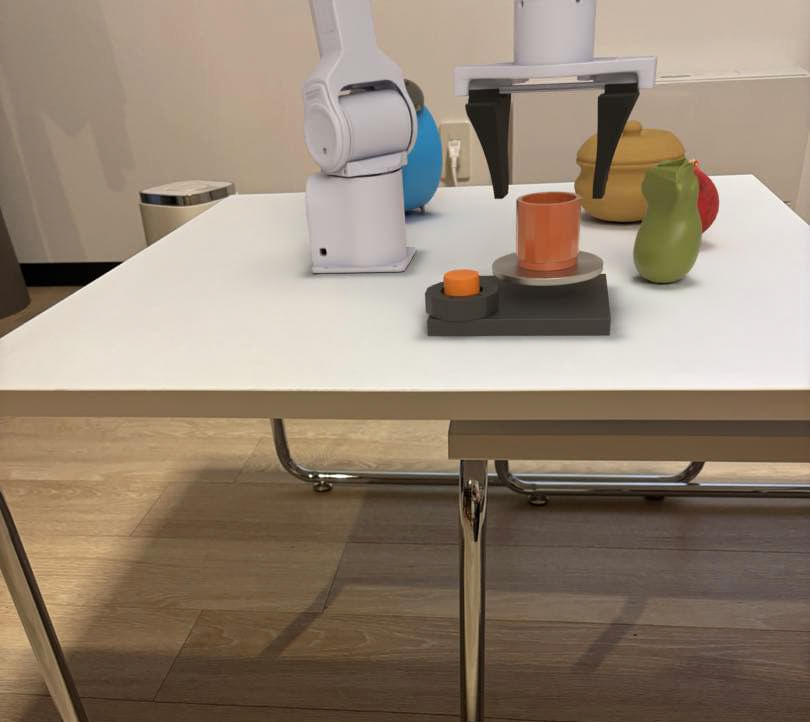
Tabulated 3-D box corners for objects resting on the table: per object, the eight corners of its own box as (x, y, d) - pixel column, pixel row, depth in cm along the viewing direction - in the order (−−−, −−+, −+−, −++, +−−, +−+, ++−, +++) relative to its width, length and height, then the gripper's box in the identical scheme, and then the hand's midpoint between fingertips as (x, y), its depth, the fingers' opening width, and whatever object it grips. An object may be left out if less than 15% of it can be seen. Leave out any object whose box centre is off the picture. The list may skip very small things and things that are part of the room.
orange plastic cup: (510, 270, 66) (510, 204, 64) (523, 253, 70) (523, 191, 68) (572, 271, 65) (575, 204, 62) (582, 255, 69) (585, 191, 66)
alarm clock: (446, 215, 101) (441, 75, 93) (408, 225, 98) (399, 81, 90) (381, 203, 110) (371, 74, 101) (343, 212, 107) (330, 80, 98)
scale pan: (487, 287, 65) (487, 279, 65) (496, 256, 72) (496, 249, 72) (604, 285, 63) (605, 277, 63) (601, 254, 71) (601, 247, 70)
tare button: (441, 299, 64) (441, 279, 63) (446, 288, 67) (445, 269, 66) (477, 299, 64) (477, 279, 63) (481, 288, 66) (480, 268, 65)
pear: (707, 282, 72) (724, 158, 67) (664, 294, 70) (678, 167, 65) (659, 269, 76) (672, 151, 71) (617, 281, 74) (626, 160, 69)
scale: (422, 338, 65) (420, 300, 63) (443, 291, 75) (441, 257, 73) (609, 338, 62) (612, 298, 61) (604, 289, 72) (607, 254, 71)
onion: (716, 253, 79) (728, 163, 75) (654, 254, 81) (663, 166, 76) (710, 238, 84) (721, 153, 80) (651, 239, 85) (659, 155, 81)
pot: (552, 224, 94) (556, 126, 88) (604, 203, 101) (610, 112, 95) (648, 235, 87) (658, 130, 82) (696, 212, 94) (708, 114, 89)
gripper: (667, -20, 58) (648, 185, 66) (469, -5, 63) (472, 186, 70) (660, -19, 53) (640, 204, 60) (443, -3, 57) (449, 204, 65)
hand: (549, 196), depth 65 cm, fingers open, 7 cm apart
